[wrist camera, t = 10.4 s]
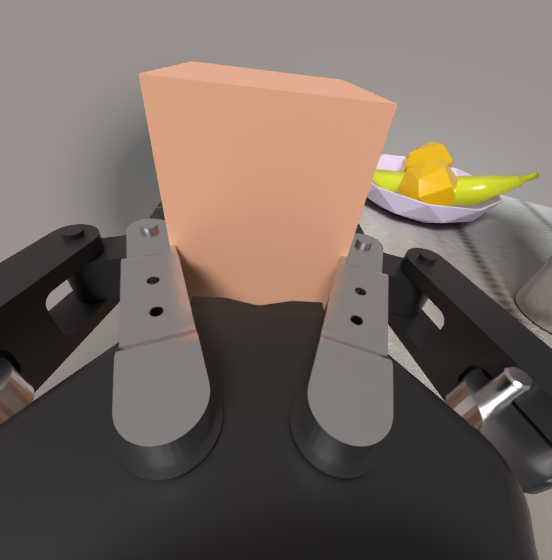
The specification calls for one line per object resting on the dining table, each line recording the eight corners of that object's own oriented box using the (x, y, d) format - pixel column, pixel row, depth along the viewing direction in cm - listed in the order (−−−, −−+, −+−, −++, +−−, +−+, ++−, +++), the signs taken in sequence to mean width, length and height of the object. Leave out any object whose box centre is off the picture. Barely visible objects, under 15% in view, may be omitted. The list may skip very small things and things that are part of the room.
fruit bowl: (319, 191, 57) (331, 131, 49) (397, 174, 70) (416, 125, 63) (444, 265, 40) (491, 191, 33) (515, 225, 54) (560, 166, 46)
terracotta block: (292, 316, 17) (342, 80, 9) (301, 394, 13) (397, 104, 5) (211, 313, 17) (192, 61, 9) (196, 392, 13) (138, 73, 5)
